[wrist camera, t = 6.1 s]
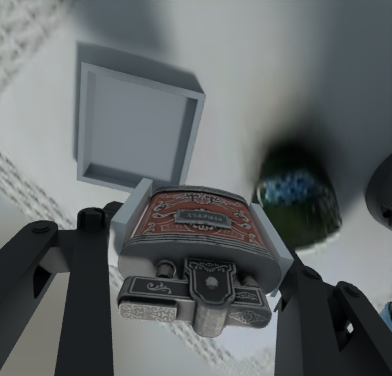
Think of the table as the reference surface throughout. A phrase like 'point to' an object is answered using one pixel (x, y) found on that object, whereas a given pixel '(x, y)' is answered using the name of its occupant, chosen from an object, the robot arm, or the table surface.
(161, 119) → the tray
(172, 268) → the lighter
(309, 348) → the robot arm
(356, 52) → the table surface
